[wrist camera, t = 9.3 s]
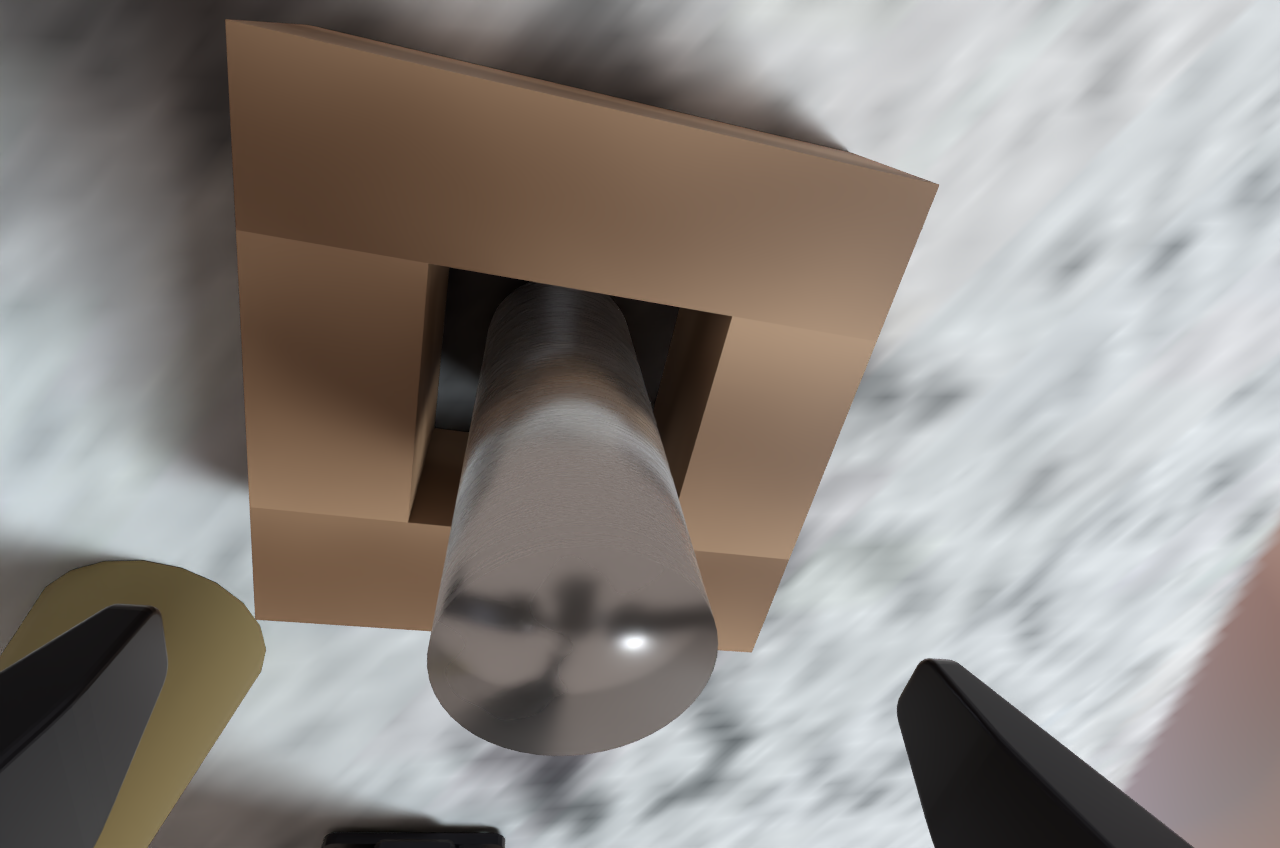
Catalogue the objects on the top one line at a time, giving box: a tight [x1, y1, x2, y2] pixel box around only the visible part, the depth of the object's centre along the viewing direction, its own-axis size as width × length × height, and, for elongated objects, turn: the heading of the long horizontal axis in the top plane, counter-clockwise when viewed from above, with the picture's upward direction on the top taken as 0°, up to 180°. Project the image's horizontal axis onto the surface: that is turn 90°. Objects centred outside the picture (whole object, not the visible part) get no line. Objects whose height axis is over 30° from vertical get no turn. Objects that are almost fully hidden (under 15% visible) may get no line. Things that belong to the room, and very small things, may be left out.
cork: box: [0, 561, 266, 848], centre depth 15 cm, size 6×6×11 cm
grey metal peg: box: [427, 281, 718, 756], centre depth 13 cm, size 4×4×10 cm
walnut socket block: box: [225, 19, 939, 652], centre depth 15 cm, size 12×12×4 cm
